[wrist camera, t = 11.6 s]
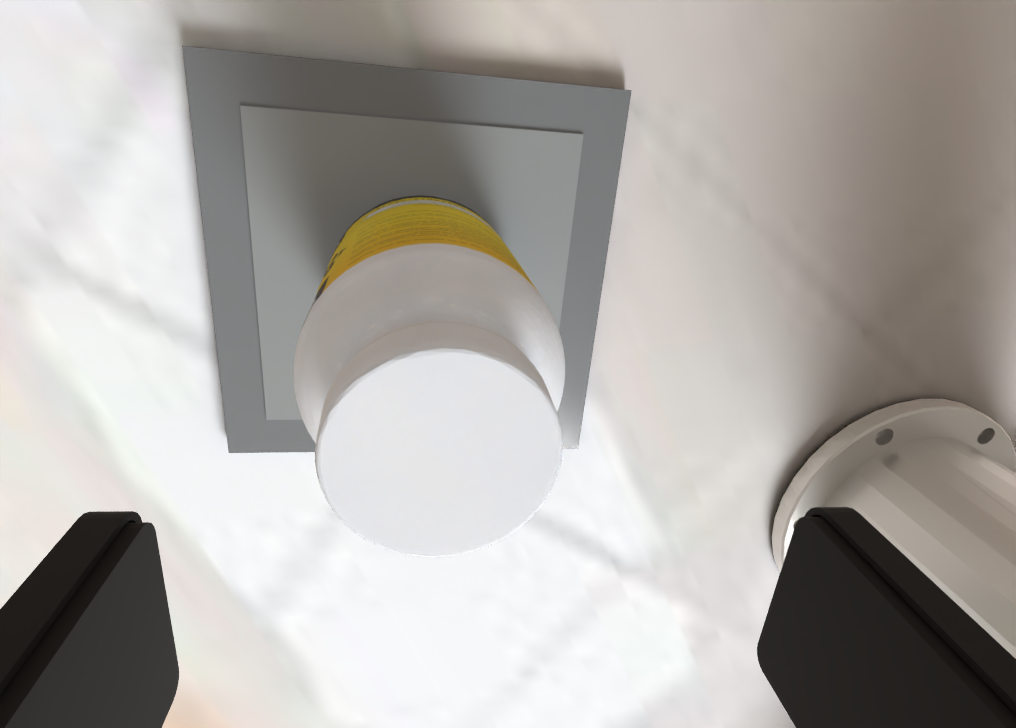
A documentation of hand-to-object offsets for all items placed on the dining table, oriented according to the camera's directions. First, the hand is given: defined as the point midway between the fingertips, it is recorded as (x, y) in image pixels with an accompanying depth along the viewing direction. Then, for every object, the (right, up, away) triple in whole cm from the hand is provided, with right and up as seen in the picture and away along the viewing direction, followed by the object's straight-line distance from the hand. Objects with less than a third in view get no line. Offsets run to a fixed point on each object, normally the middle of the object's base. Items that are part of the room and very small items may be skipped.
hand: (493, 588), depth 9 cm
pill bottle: (-3, +6, +13) cm, 15 cm away
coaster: (-3, +6, +13) cm, 15 cm away
